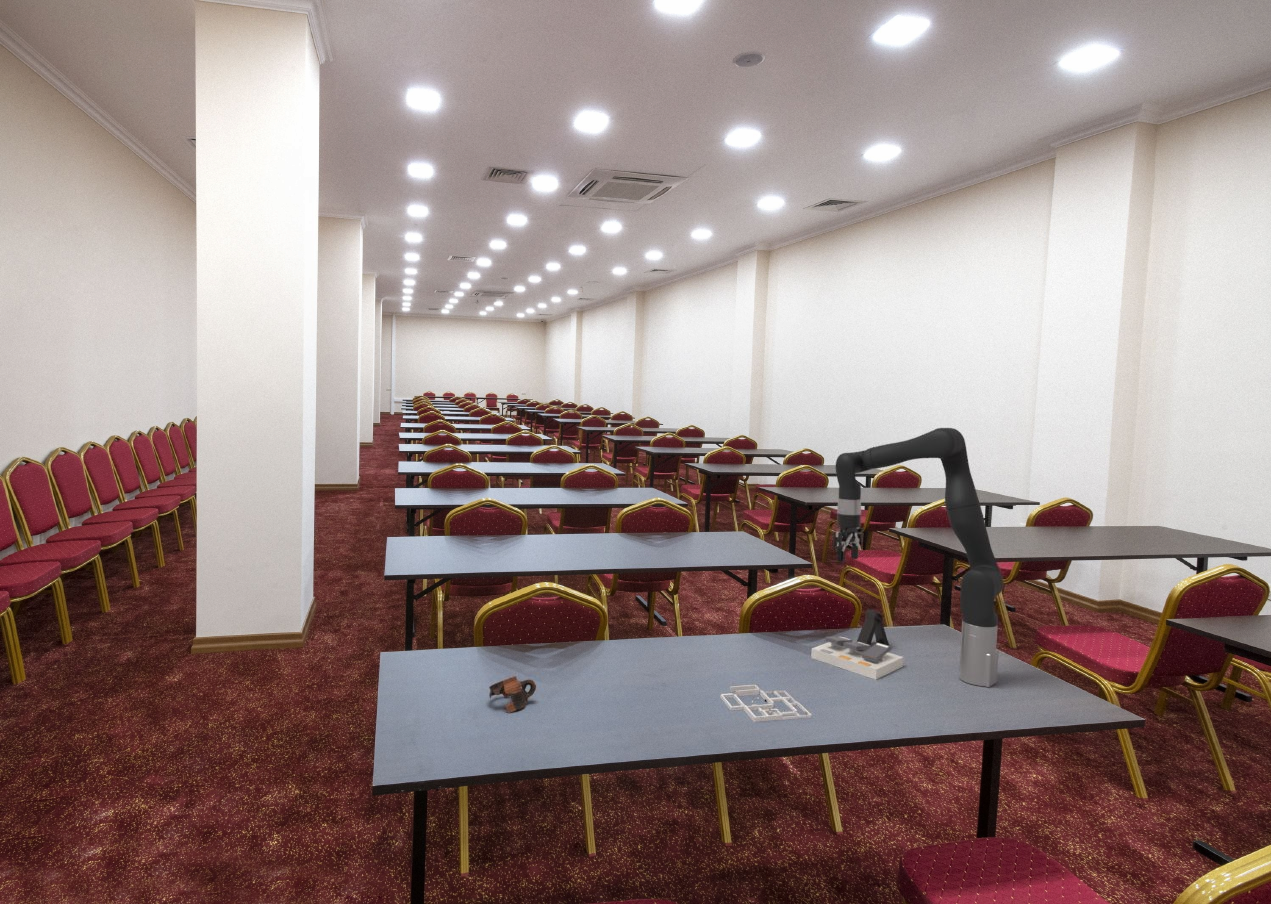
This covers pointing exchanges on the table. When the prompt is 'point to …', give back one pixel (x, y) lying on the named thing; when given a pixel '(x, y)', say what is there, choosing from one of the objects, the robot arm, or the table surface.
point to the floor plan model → (761, 708)
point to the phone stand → (873, 629)
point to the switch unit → (856, 660)
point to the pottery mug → (513, 692)
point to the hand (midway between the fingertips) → (847, 560)
